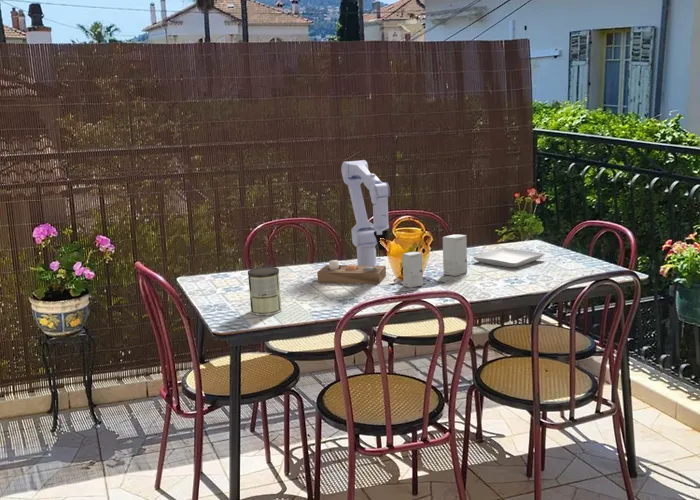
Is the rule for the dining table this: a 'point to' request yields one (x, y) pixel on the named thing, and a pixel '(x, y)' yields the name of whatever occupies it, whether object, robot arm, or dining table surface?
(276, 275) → the coffee can
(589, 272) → the dining table surface
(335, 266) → the cream plunger
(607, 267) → the dining table surface
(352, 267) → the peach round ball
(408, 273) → the skincare box
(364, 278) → the walnut button box
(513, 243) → the dining table surface
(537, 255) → the salad plate
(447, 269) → the skincare box
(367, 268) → the slate plunger
